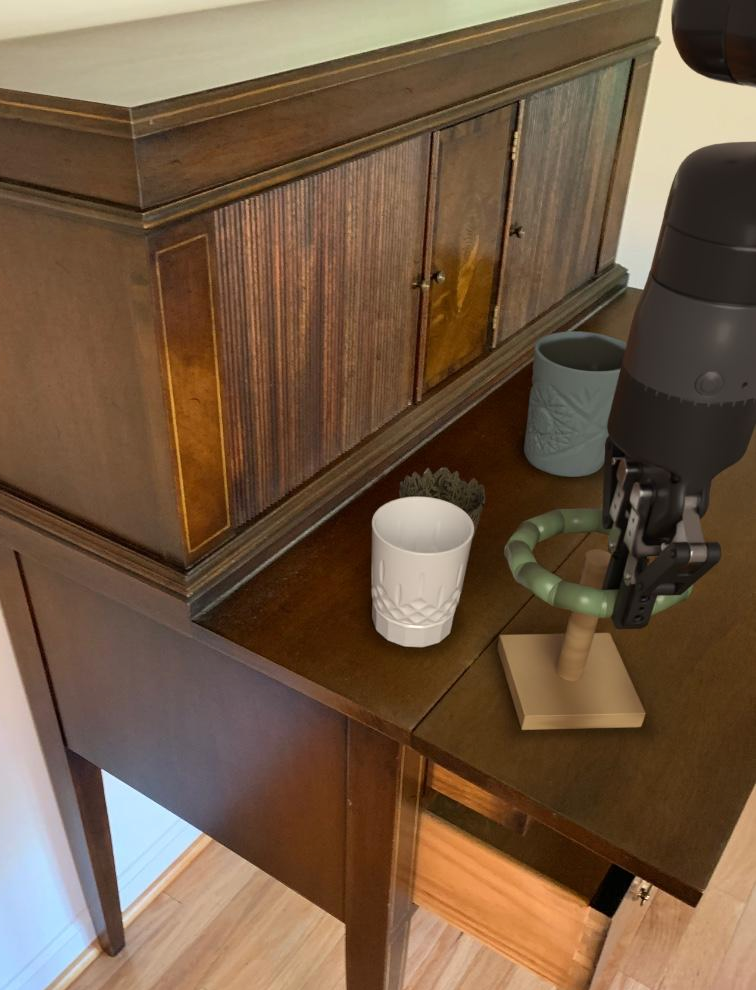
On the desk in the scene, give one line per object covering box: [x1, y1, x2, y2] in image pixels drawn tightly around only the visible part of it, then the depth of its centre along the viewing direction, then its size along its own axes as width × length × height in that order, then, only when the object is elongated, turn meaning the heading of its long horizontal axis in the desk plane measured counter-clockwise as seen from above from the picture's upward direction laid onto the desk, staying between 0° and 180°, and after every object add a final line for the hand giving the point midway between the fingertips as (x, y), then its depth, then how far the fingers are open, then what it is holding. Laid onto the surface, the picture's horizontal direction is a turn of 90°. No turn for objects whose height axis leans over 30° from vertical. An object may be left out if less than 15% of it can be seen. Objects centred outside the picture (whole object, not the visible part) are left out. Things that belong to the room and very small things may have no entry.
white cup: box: [370, 497, 474, 648], centre depth 74 cm, size 8×8×10 cm
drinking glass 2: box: [523, 330, 627, 478], centre depth 95 cm, size 10×10×12 cm
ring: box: [503, 507, 695, 619], centre depth 64 cm, size 13×13×2 cm
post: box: [497, 548, 647, 731], centre depth 68 cm, size 9×9×12 cm
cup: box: [398, 466, 487, 541], centre depth 81 cm, size 8×7×8 cm
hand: (622, 612), depth 60 cm, fingers closed on ring, 2 cm apart
